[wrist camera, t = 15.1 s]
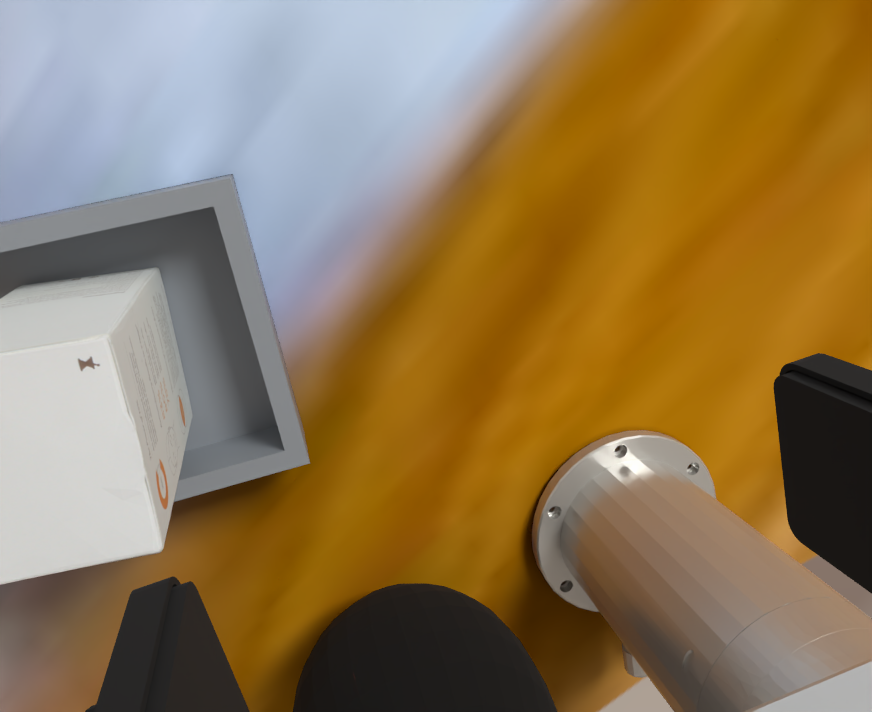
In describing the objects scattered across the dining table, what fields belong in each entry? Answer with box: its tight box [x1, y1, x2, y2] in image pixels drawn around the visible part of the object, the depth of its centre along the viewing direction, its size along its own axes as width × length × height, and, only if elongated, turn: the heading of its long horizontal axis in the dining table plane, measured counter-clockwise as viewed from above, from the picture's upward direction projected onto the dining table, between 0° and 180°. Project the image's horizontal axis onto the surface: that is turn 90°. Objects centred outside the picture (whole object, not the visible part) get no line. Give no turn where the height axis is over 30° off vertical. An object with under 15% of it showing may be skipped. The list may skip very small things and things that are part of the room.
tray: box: [0, 174, 310, 502], centre depth 34 cm, size 14×16×4 cm
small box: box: [0, 267, 193, 585], centre depth 29 cm, size 8×6×13 cm
